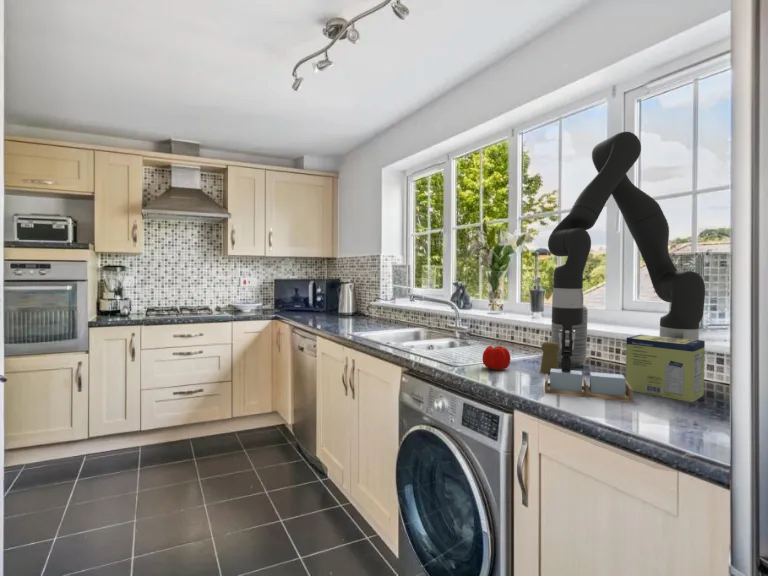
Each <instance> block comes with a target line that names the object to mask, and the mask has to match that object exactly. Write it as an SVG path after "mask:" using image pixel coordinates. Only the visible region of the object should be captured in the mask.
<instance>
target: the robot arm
mask: <svg viewBox="0 0 768 576" xmlns="http://www.w3.org/2000/svg"><path fill="white" fill-rule="evenodd" d="M641 151H642V144H641V141H640V139H639V137H638V136H637V135H636V134H635V133H634V132H631V131H622V132H618V133H615V134H614V135H613V136H610V137H608V138H607V139H605V140H602V141H601V142H600V143H598V144H596V145H595V146H594V147H593V148H592V152H591V160H592V164H593V165H594V168H595V169H596V171H597V174H596V176H595V177H593V179H592V180H591V181H590V182H589V183H588V184H587V185H586V186H585V188H584V189H583V190H582V191H581V192H580V193H579V195H578V196H577V198H576V200H575V202H574V203H573V205H572V207H571V208H570V211H569V213H568V214H567V215H566V216H565V217H564V218H563V219H561V221H560V222H559V223H558V224H557V225H556V226H555V228H554V229H553V230H552V231H551V233H550V235H549V237H548V241H547V248H548V250H549V252H550V254H552V255H553V256H555V257H567V259H566V260H565V263H564V264H562V265H558V266H557V267H555V269H554V271H553V290H552V297H551V301H552V302H551V323H552V322H553V323H554V324H561V325H562V330H559V338H560V349H561V357H562V366H560V367H561V368H560V369H561V370H562V372H570V371H571V370H572V369H571V368H572V367H571V357H572V350H573V349H574V339H575V331H572V326H573V325H581V324H582V323H583V305H584V290H583V289H584V288H583V285H584V272H585V268H586V265H587V261H588V258H589V255H590V252H591V249H592V239H591V236H590V234H589V232H588V230H590V229H592V228H593V227H594V226H595V224H596V222H597V221H598V219H599V217H600V215H601V213H602V211H603V209H604V207H605V205H606V203H607V202H608V200H609V199H610V197H613V200H614V201H615V203H616V205H617V208H618V209H619V211H620V213H621V215H622V217H623V220H624V223H625V225H626V226H627V228H628V231H629V234H630V235H631V237H632V239H633V240H634V242H635V244H636V246H637V249H638V250H639V251H638V252H639V253H640V256H641V257H642V260H643V263H644V264H645V266H646V269H647V273H648V275H649V279H650V282H651V284H652V287H653V290H654V291H655V292H654V293H656V295H657V297H658V298H659V299H660V300H662V301H663V302H665V303H670V310H669V311H668V313H666V314H664V315H662V316H660V319H659V337H670V338H681V339H692V340H700V339H699V338H700V336H699V335H700V324H701V322H702V320H703V317H704V316H703V315H704V309H705V301H706V299H705V298H706V285H705V284H706V283H705V280H704V279H703V276H701V275H700V274H699V273H697V272H696V271H691V270H677V268H676V266H675V264H674V263H673V260H672V258H671V256H670V252H669V238H670V227H669V223H668V219H667V218H666V216H665V214H664V211H663V210H662V207H661V205H660V204H659V203H658V201H656V199H654V198H653V197H651V195H649V194H647V193H646V192H644V191H643V190H642V189H640V188H639V187H637V186H636V185H635V184H633V183H632V181H631V179H630V178H629V176H628V175H627V173H628V172H629V171H630V170H631V168H632V167H633V166H634V165H635V163H636V162H637V160H638V159H639V157H640V154H641Z"/></svg>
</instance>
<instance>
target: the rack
mask: <svg viewBox="0 0 768 576" xmlns="http://www.w3.org/2000/svg"><path fill="white" fill-rule="evenodd" d="M544 376H545V380H544V394H550V395H559V396H567V397H568V396H569V397H570V396H571V397H579V398H589V399H596V400H597V399H600V400H608V401H609V400H610V401H619V402H628V403H630V402H631V403H633V397H634V396H633V394H634V393H633V392H634V391H633V389H632V388H631V386H630V385H629V383H628V382H627V381H626V380H625V396H617V395H607V394H596V393H590V384H589V382H588V378H587V377H583V385H582V392H576V391H566V390H555V389H550V382H549V374H547V373H545V375H544Z"/></svg>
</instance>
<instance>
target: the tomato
mask: <svg viewBox="0 0 768 576" xmlns="http://www.w3.org/2000/svg"><path fill="white" fill-rule="evenodd" d="M482 364H483V365H484V366H485V367H486V368H487V369H489V370H490V369H493V370H494V371H495V370H496V371H501V370H505V369H507V368H508V367H509V366H510V364H511V353H510V351H509V350H508V348H506V347H503V346H501V345H496V346H494V347H493V346H492V345H488V346H487V347H486V349H485V350H483V353H482Z"/></svg>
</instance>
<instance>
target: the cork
mask: <svg viewBox="0 0 768 576" xmlns="http://www.w3.org/2000/svg"><path fill="white" fill-rule="evenodd" d="M541 350H542V353H543V354H542V356H541V357H542V358H541V363H540V371H539V373H542V374H548V375H550V370H551V369H560V368H559V365H558V357H557V352H558V351H559V345H558V343H556V342H551V340H550V341H549V340H548V341H543V342H542V343H541Z"/></svg>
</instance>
